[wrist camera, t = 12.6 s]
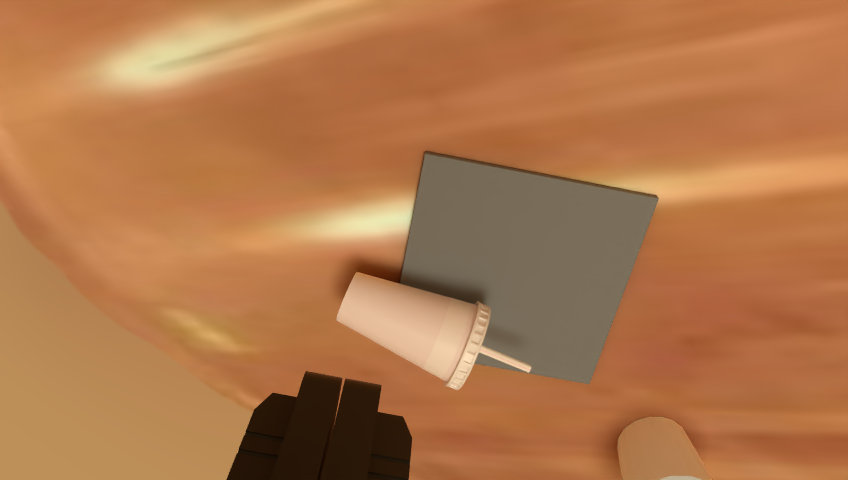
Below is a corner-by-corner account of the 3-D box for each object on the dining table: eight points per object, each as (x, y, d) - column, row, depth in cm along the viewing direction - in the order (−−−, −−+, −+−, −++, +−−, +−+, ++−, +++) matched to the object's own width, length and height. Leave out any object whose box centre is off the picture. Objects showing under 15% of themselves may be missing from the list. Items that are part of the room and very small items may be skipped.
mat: (387, 343, 52) (387, 347, 52) (425, 151, 45) (425, 153, 45) (588, 380, 53) (589, 384, 52) (656, 195, 46) (658, 198, 45)
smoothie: (338, 325, 51) (509, 395, 51) (321, 350, 45) (516, 429, 45) (369, 247, 50) (543, 319, 50) (356, 261, 44) (556, 343, 44)
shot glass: (592, 451, 56) (608, 520, 50) (645, 397, 53) (669, 462, 47) (657, 485, 57) (681, 556, 51) (712, 433, 55) (745, 501, 48)
